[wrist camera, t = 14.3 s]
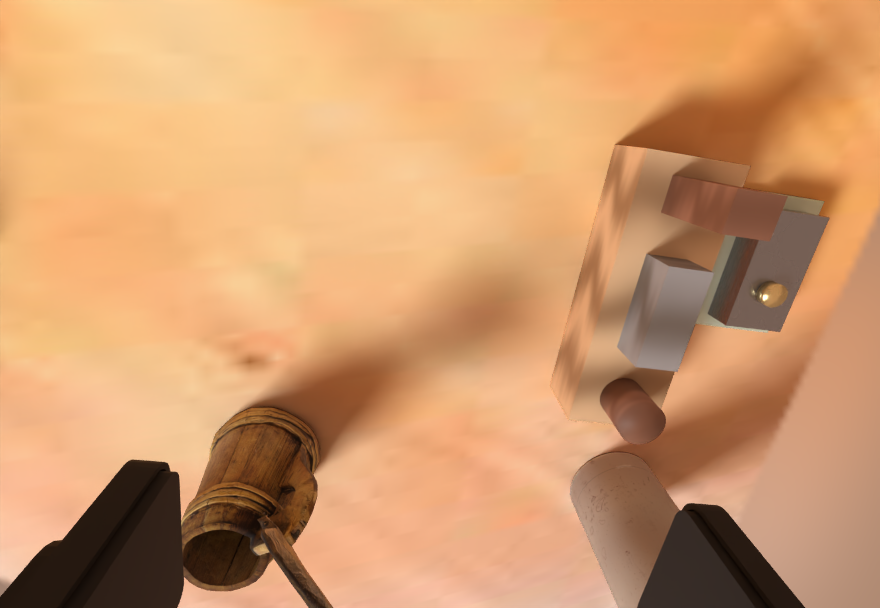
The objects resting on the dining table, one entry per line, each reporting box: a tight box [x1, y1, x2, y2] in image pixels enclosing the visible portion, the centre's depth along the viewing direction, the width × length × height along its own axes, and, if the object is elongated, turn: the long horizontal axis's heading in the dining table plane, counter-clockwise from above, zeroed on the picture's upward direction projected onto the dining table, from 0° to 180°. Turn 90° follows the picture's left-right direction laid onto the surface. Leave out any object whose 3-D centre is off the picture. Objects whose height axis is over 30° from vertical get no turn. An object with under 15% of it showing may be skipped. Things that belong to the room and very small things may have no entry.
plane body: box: [550, 145, 788, 444], centre depth 33 cm, size 20×7×11 cm, turn 171°
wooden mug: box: [181, 407, 333, 608], centre depth 33 cm, size 9×14×18 cm, turn 114°
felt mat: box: [695, 191, 824, 333], centre depth 38 cm, size 11×7×1 cm, turn 171°
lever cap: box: [708, 209, 829, 332], centre depth 36 cm, size 9×5×3 cm, turn 172°
